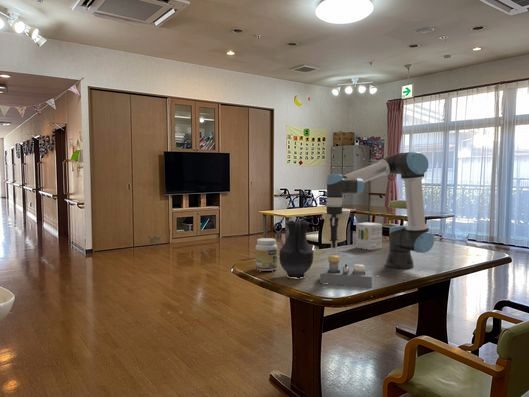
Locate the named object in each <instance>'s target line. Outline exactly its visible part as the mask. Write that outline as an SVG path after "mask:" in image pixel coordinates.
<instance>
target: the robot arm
mask: <svg viewBox="0 0 529 397" xmlns="http://www.w3.org/2000/svg"><path fill="white" fill-rule="evenodd" d="M428 169H429V160H428V157H427V156H426V155H425V154H424V153H423V152H420V151H419V152H418V151H409V152H397V153H394V154H391V155H389V156H386V157H384V158H381V159H379V160H378V162H376V163H373V164H370V165H367V166H365V167H362V168H360V169H357V170H353V171H352V172H349V173H346V174H344V175H343V174H341V173H339V174H337V173H336V174H328V175H327V177H326V198H325V201H326V214H327V215H331V217H330V218H329V225H330V239H329V242H330V254H331V255H338V241H339V238H338V226H339V217H338V215H342V214H343V207H342V206H343V194H355V195H356V194H361V193H362V192H363V191H364V190H365V183H366V182H368V181H371V180H374V179H377V178H379V177H382V176H383V177H387V176H390V175H400V179H401V180H402V181H403V183H404V192H405V203H406V204H405V205H406V215H407V225H396V226H394V225H393V226H391V227H390V228H389V232H388V234H389V235H388V238H389V239H388V243H389V244H388V248H389V249H388V250H389V251H388V254H387V257H386V259H385V266H387V267H390V268H393V269H412V268H414V260H413V256H412V254H411V253H412V252H415V253H419V254H426V253H428V252H430V251H431V250H432V248H433V247H434V244H435V236H434V234H432V232H430V229H429V225H427V224H426V217H425V206H424V195H423V192H424V191H423V178H425V173H426V172H427V171H428Z"/></svg>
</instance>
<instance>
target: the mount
mask: <svg viewBox="0 0 529 397" xmlns="http://www.w3.org/2000/svg"><path fill="white" fill-rule="evenodd" d="M372 272H373V271H372V270H367V269H366V270H365V271H364V275H358V274H354V271H353V269H349V274H343V268H338V272H337V273H332V272H329V267H328V268H327V267H322V269H321V272H320V274H319V275H320V276H319V284H320V283H328V284H338V285H337V286H342V285H346V286H345V287H360V288H372V287H373V286H372V285H373V284H372V282H373V275H372V274H373V273H372Z"/></svg>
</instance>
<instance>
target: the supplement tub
mask: <svg viewBox="0 0 529 397" xmlns="http://www.w3.org/2000/svg"><path fill="white" fill-rule="evenodd" d="M256 243H257V244H256V245H255V269H256V268H257V269H261V270H273V269H277V270H278V244H276V243H277V239H275V238H269V237H267V238H266V237H262V238H257V239H256Z"/></svg>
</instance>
